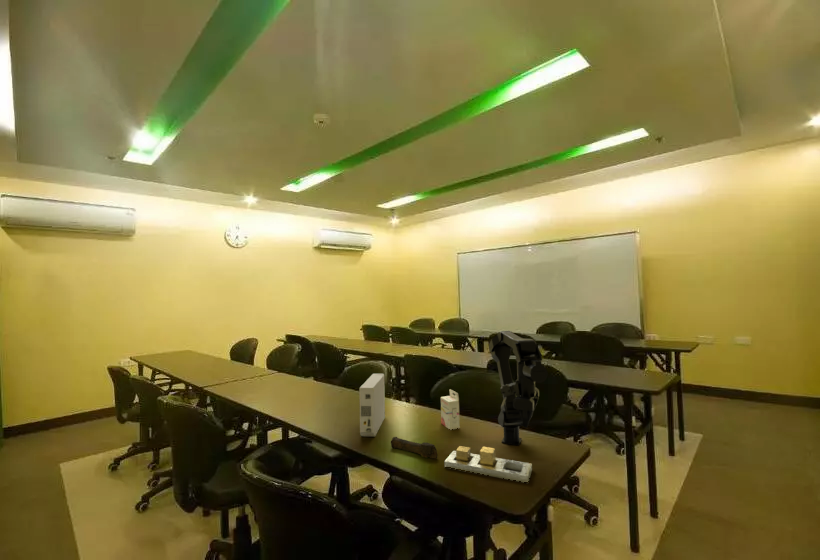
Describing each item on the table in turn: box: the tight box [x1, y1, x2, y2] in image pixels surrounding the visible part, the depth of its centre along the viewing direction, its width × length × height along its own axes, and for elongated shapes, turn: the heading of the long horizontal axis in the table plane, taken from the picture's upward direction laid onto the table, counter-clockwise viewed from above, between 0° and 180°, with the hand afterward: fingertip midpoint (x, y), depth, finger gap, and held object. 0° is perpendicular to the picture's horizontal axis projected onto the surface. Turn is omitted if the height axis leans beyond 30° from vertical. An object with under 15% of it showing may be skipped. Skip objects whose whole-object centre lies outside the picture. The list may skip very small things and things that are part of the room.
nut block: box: [479, 446, 496, 467], centre depth 118 cm, size 4×4×6 cm
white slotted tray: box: [444, 445, 533, 483], centre depth 118 cm, size 9×26×5 cm, turn 65°
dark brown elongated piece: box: [390, 436, 439, 459], centre depth 131 cm, size 19×4×5 cm, turn 52°
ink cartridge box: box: [440, 388, 461, 431], centre depth 158 cm, size 9×5×15 cm, turn 22°
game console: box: [358, 373, 386, 437], centre depth 159 cm, size 6×27×20 cm, turn 174°
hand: (527, 422), depth 125 cm, fingers open, 9 cm apart
